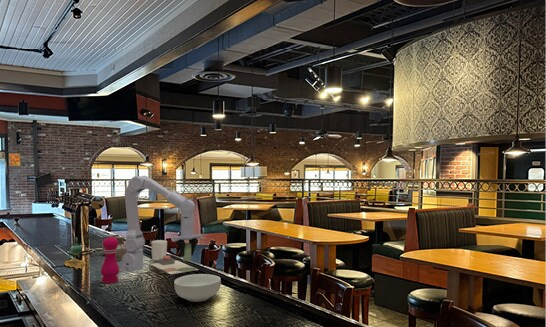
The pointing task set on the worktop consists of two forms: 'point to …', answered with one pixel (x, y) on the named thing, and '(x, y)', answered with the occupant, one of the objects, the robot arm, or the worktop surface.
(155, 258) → the white cup
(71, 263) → the frog figurine
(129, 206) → the robot arm
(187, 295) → the cereal bowl
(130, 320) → the worktop surface
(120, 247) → the pottery
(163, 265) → the picture board
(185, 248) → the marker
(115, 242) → the pepper mill
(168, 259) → the button
